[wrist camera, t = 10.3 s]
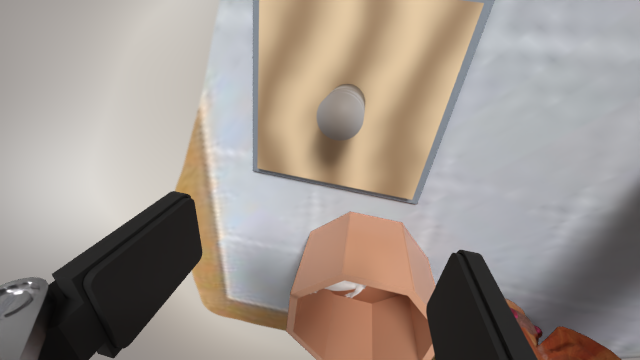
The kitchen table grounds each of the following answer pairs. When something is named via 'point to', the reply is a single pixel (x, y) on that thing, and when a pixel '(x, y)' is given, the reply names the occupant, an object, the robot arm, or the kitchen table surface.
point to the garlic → (347, 288)
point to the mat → (473, 44)
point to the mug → (560, 342)
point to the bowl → (362, 292)
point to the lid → (357, 87)
